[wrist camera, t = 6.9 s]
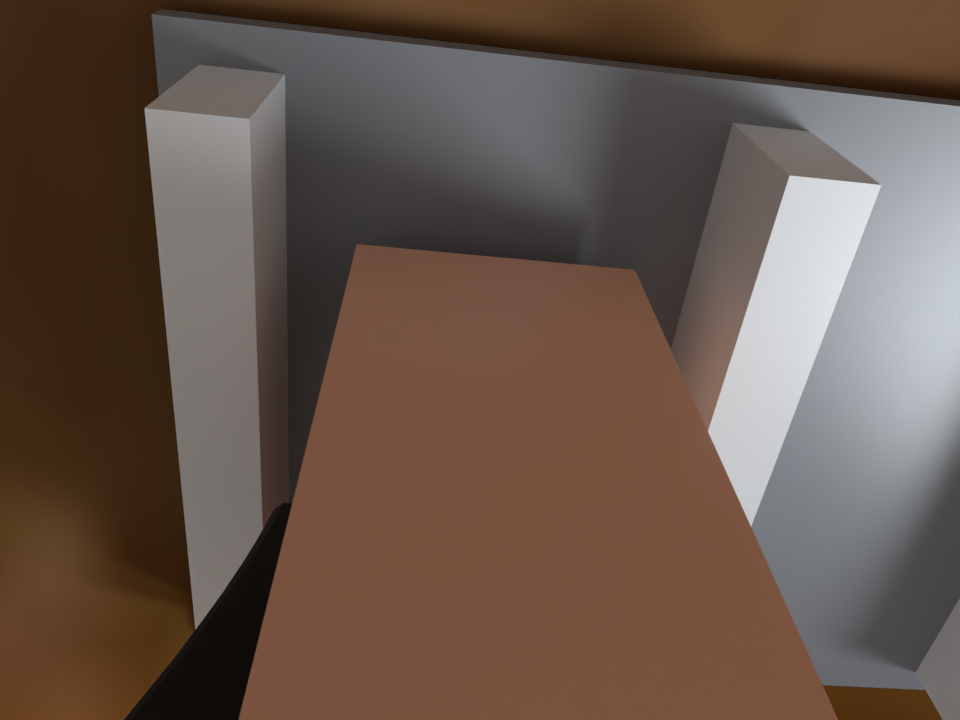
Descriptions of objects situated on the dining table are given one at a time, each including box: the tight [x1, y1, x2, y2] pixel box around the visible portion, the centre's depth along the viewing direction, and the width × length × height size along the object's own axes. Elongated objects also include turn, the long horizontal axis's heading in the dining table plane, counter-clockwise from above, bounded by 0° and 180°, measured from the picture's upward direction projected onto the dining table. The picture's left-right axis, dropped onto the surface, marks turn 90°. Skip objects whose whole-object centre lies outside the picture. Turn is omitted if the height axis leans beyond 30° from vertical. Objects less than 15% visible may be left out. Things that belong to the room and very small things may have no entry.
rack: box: [144, 9, 960, 720], centre depth 12 cm, size 15×11×2 cm
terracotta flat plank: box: [239, 244, 838, 720], centre depth 9 cm, size 4×7×7 cm, turn 173°
